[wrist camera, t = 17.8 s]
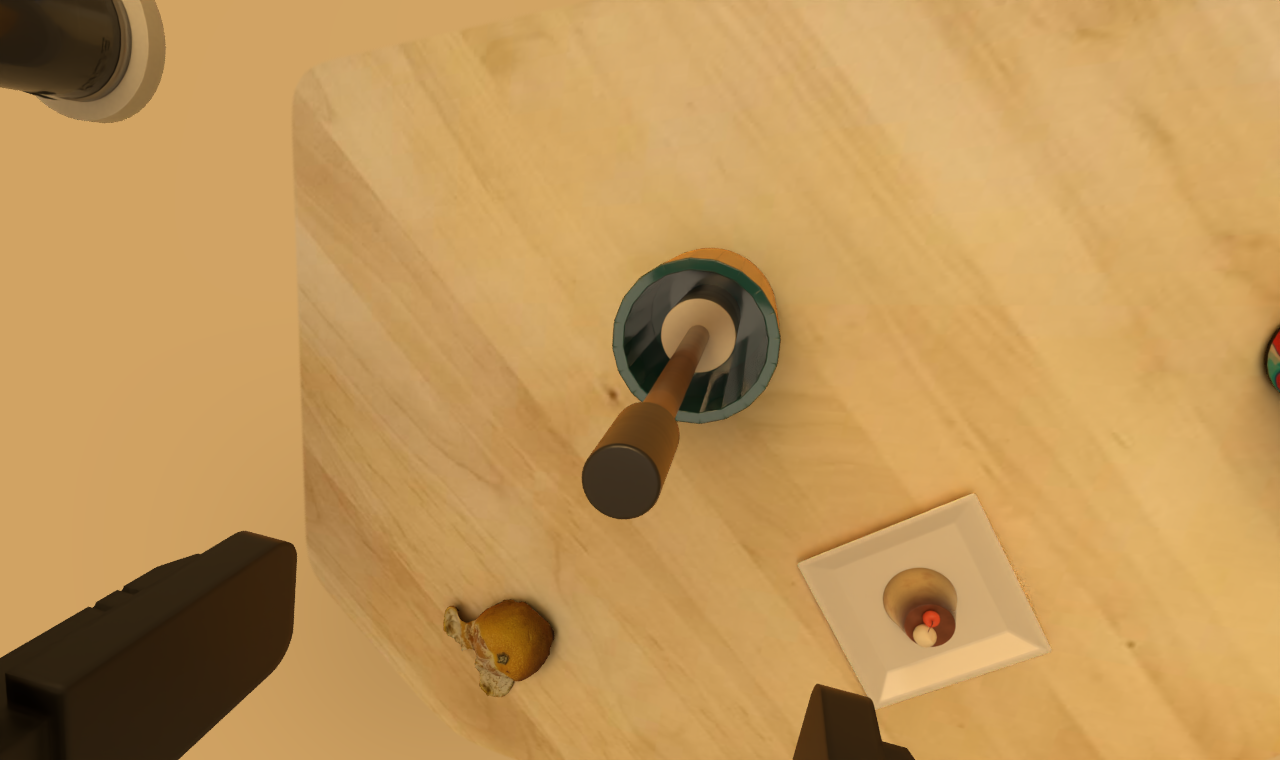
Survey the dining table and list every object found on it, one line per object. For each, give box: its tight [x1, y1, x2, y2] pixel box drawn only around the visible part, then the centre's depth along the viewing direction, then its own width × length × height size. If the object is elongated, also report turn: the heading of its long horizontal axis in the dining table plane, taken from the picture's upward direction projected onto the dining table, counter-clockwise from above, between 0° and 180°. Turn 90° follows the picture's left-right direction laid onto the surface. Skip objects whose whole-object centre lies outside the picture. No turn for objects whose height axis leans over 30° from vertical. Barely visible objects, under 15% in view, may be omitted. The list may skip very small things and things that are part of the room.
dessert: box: [797, 493, 1052, 709], centre depth 44 cm, size 12×12×5 cm
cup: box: [612, 248, 781, 424], centre depth 40 cm, size 8×8×10 cm
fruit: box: [443, 600, 554, 697], centre depth 51 cm, size 8×8×4 cm
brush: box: [582, 285, 740, 519], centre depth 31 cm, size 4×4×28 cm
